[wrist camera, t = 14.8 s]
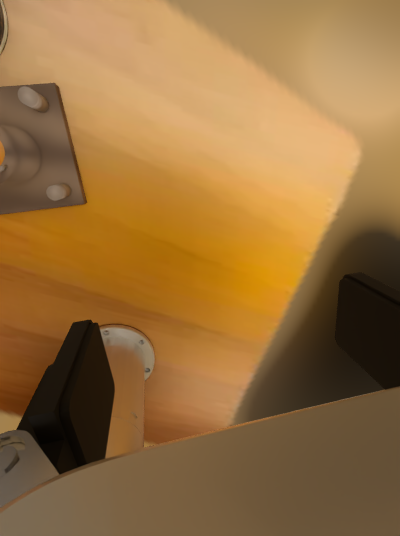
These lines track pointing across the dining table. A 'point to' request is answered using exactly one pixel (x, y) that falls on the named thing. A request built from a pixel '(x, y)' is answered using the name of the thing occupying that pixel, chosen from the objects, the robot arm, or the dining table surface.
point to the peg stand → (41, 150)
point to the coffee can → (3, 26)
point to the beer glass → (17, 155)
